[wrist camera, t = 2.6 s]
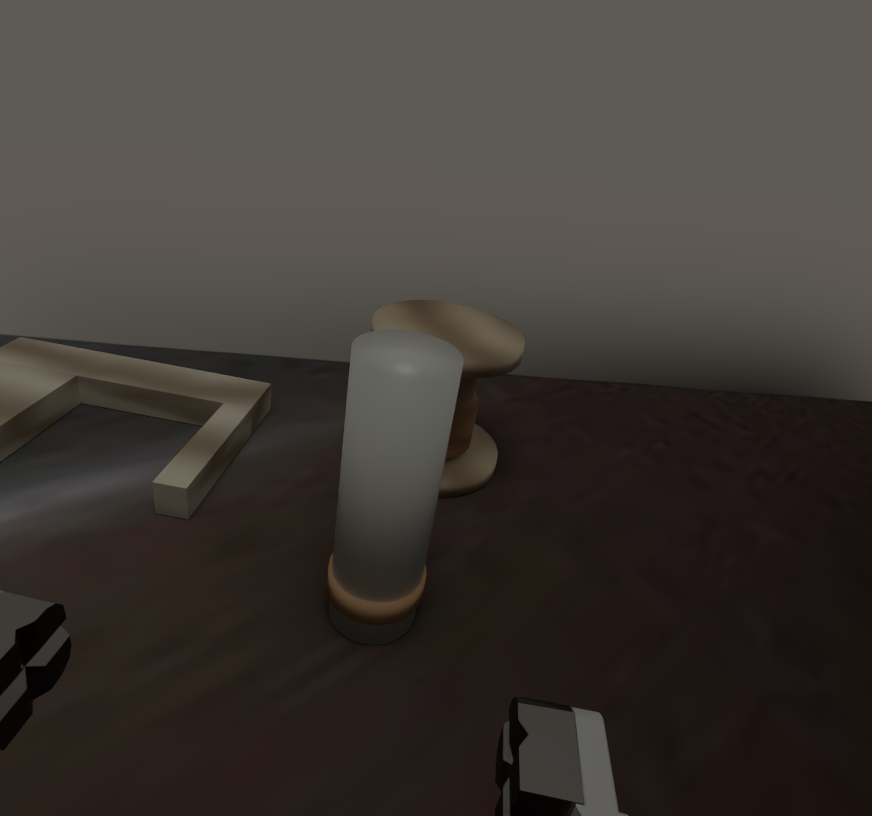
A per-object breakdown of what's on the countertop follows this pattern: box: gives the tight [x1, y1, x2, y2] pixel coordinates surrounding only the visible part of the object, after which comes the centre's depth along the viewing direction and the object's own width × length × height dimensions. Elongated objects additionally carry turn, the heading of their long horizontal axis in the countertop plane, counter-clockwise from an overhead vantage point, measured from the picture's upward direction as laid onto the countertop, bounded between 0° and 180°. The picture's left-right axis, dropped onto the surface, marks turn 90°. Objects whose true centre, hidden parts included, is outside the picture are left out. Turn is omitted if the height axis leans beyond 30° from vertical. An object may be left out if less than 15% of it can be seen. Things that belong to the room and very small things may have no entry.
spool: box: [371, 300, 525, 498], centre depth 37 cm, size 9×9×9 cm
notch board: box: [0, 337, 271, 519], centre depth 35 cm, size 12×18×2 cm
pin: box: [327, 330, 464, 645], centre depth 24 cm, size 4×4×13 cm
